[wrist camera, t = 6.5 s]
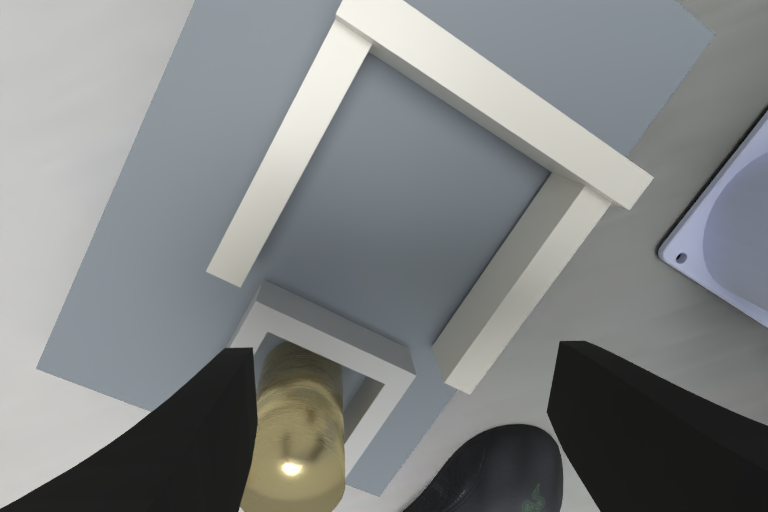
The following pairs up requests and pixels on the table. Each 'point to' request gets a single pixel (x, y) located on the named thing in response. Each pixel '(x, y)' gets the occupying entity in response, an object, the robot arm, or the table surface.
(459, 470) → the computer mouse
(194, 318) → the base board
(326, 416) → the pin
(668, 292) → the table surface
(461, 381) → the frame
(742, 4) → the table surface
